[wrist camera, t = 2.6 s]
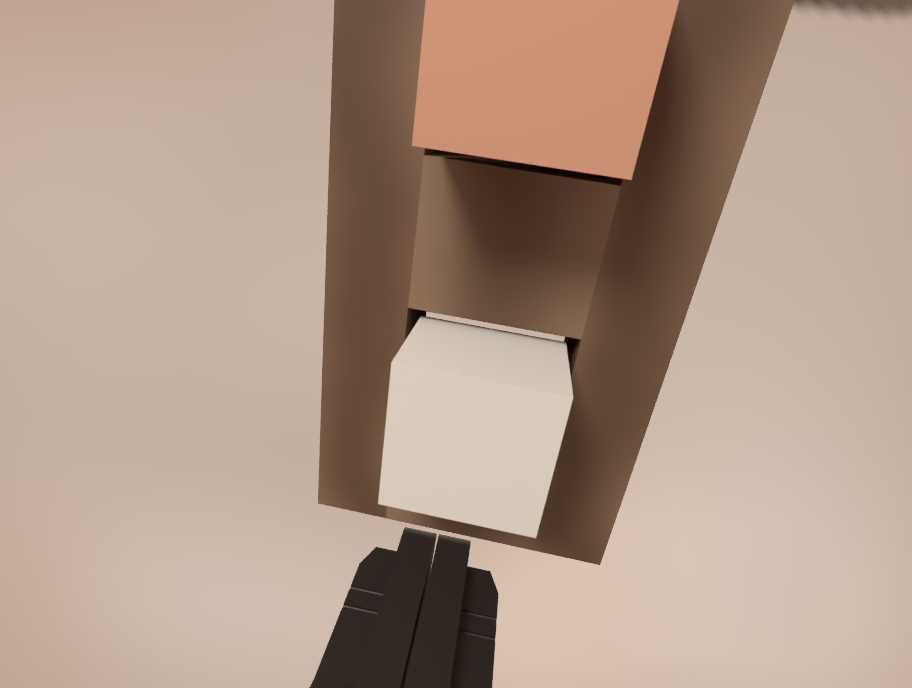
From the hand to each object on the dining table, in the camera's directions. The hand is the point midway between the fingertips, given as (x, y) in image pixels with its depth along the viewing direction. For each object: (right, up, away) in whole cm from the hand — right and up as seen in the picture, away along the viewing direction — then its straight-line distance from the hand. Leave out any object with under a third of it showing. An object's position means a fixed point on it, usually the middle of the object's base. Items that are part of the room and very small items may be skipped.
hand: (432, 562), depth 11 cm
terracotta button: (+3, +13, +4) cm, 14 cm away
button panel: (+3, +9, +9) cm, 13 cm away
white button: (+2, +3, +8) cm, 9 cm away
